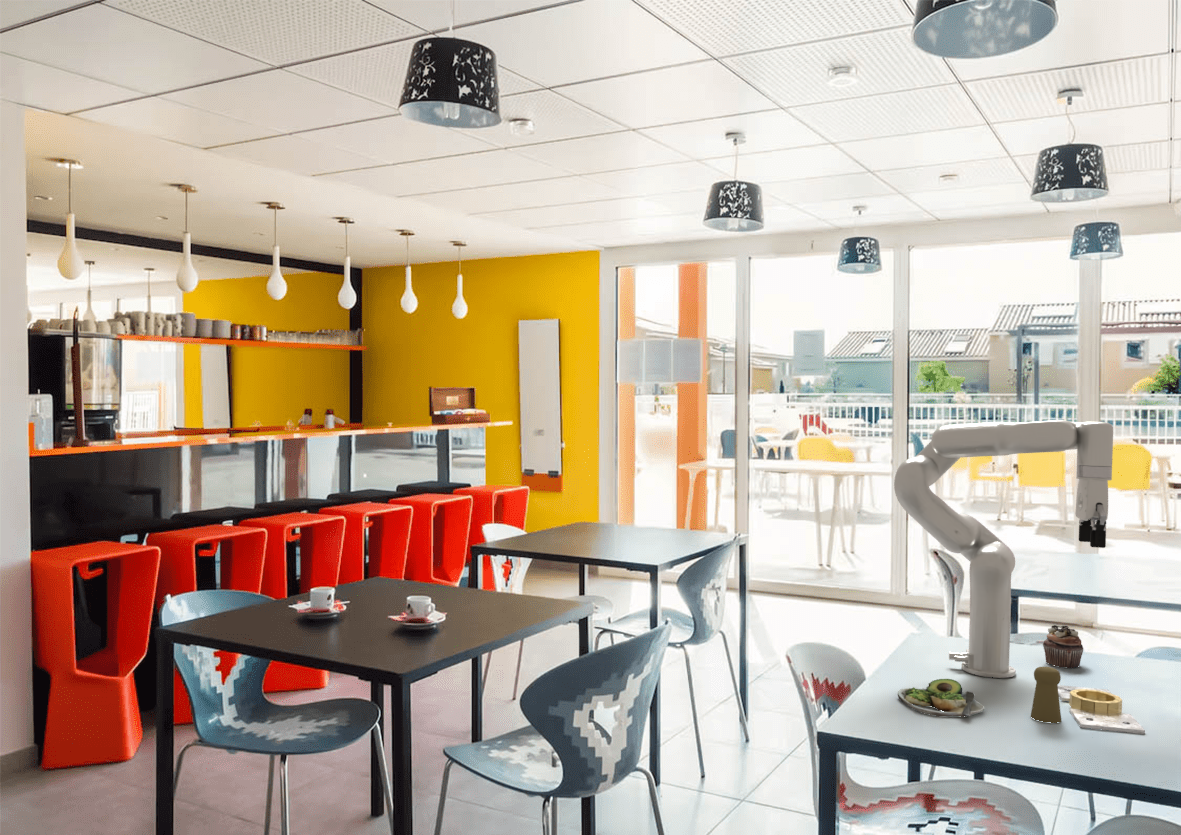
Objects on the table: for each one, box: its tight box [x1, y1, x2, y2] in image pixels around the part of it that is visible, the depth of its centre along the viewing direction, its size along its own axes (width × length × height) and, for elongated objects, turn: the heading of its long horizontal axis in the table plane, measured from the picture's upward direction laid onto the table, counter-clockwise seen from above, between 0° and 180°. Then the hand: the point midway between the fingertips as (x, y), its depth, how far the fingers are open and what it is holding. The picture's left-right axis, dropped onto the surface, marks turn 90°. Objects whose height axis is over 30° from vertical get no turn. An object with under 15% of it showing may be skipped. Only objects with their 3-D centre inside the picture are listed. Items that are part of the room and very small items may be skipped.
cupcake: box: [1042, 624, 1084, 669], centre depth 253 cm, size 10×10×10 cm
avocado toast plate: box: [897, 678, 985, 718], centre depth 214 cm, size 19×18×5 cm
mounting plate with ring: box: [1058, 684, 1146, 735], centre depth 215 cm, size 12×30×3 cm, turn 165°
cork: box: [1030, 666, 1062, 724], centre depth 207 cm, size 6×6×11 cm
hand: (1091, 544), depth 233 cm, fingers open, 9 cm apart
